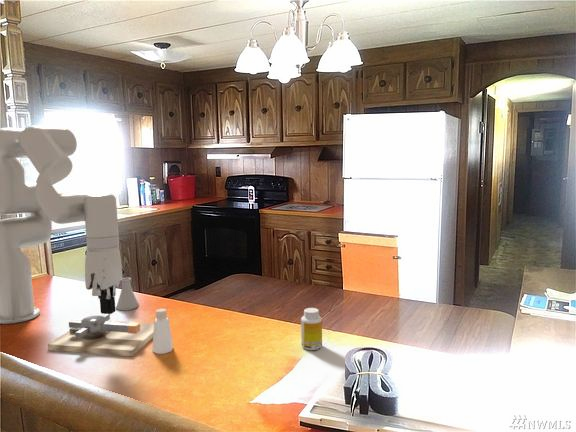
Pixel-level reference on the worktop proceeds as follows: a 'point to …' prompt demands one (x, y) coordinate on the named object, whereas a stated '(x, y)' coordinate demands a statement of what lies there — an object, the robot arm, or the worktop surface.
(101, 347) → the wooden flat board
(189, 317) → the worktop surface
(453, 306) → the worktop surface
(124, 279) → the flask
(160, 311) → the pepper shaker
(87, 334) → the capstan
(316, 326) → the supplement bottle
